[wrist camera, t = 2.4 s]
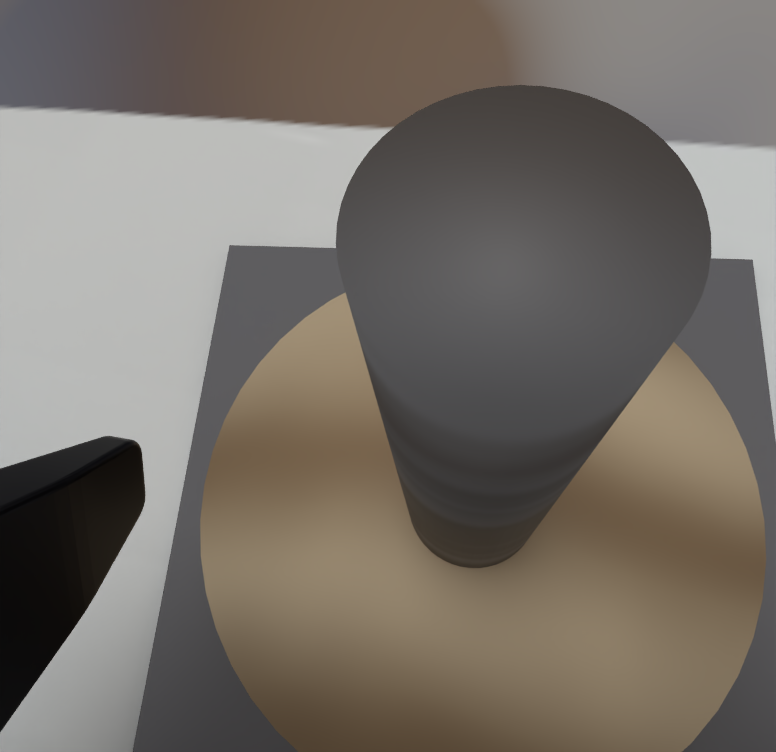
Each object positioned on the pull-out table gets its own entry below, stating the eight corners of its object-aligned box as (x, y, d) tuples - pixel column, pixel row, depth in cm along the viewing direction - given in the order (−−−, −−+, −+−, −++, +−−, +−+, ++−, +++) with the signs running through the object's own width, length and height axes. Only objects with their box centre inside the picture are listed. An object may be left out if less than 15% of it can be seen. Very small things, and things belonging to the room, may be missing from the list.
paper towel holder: (775, 848, 14) (2265, 1758, 3) (170, 780, 16) (-648, 1166, 4) (718, 290, 19) (1150, -281, 7) (257, 275, 20) (1, -225, 9)
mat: (827, 907, 14) (835, 913, 14) (124, 822, 16) (118, 826, 15) (748, 265, 19) (752, 259, 19) (232, 250, 21) (229, 245, 21)
